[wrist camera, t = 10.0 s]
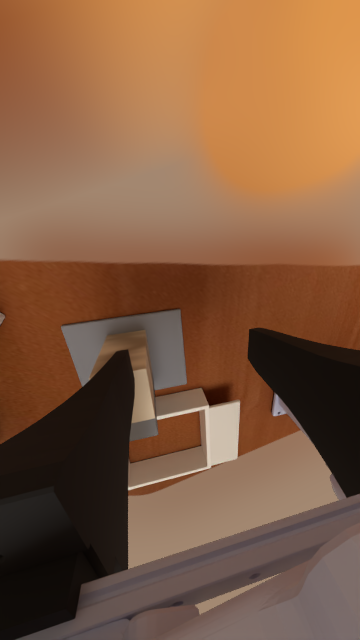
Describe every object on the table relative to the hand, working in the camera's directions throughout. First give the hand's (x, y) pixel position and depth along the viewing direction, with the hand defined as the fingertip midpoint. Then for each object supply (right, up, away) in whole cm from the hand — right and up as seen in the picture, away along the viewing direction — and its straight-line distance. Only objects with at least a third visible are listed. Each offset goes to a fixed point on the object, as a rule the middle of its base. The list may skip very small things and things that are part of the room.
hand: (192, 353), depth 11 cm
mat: (-6, -2, +10) cm, 12 cm away
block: (-6, -3, +10) cm, 12 cm away
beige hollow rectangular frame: (-3, -14, +15) cm, 21 cm away
